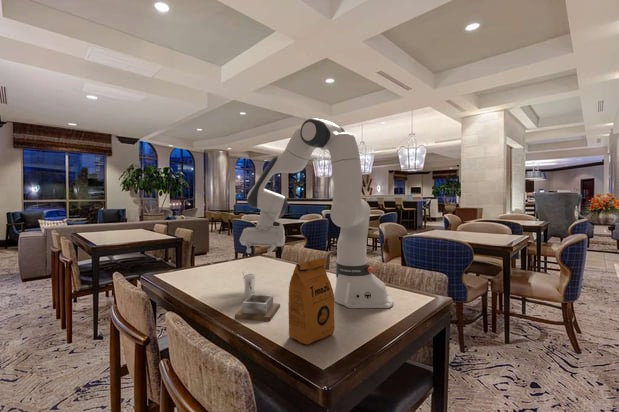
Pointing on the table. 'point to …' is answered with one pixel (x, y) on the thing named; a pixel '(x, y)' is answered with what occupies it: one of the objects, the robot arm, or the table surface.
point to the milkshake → (249, 284)
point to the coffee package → (310, 302)
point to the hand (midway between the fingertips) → (258, 252)
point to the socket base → (258, 308)
